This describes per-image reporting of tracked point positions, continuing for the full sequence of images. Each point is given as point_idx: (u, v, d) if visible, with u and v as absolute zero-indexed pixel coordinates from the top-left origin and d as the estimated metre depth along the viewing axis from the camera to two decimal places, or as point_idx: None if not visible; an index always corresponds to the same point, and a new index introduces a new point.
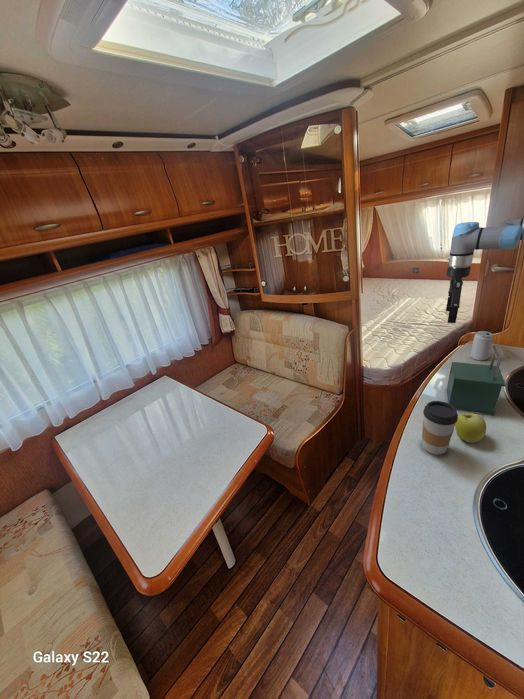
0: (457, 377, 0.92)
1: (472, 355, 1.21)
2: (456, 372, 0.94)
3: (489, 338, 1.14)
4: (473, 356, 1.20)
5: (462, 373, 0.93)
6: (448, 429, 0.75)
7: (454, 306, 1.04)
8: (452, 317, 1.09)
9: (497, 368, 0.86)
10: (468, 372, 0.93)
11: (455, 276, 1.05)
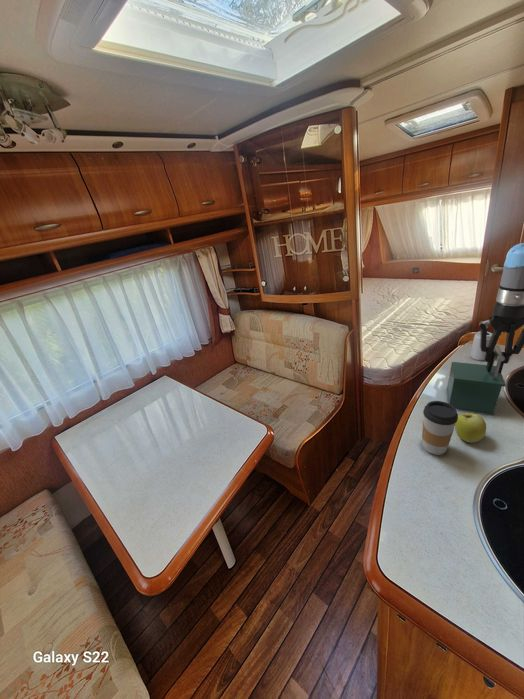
0: (457, 377, 0.92)
1: (472, 355, 1.21)
2: (456, 372, 0.94)
3: (489, 338, 1.14)
4: (473, 356, 1.20)
5: (462, 373, 0.93)
6: (448, 429, 0.75)
7: None
8: None
9: (497, 368, 0.86)
10: (468, 372, 0.93)
11: None
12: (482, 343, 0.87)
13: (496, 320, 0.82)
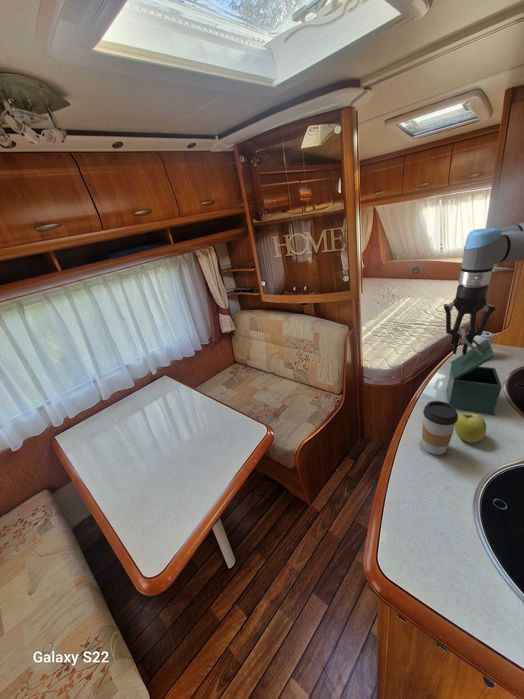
0: (455, 375, 0.92)
1: None
2: (454, 370, 0.94)
3: (489, 338, 1.14)
4: None
5: (459, 368, 0.93)
6: (448, 429, 0.75)
7: None
8: (466, 346, 0.90)
9: (472, 348, 0.86)
10: (464, 363, 0.93)
11: None
12: (447, 325, 0.89)
13: (459, 302, 0.85)
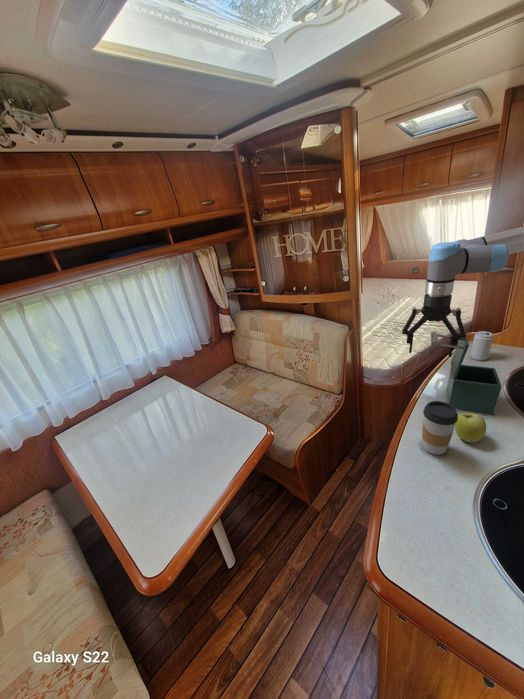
0: (453, 374, 0.92)
1: (472, 355, 1.21)
2: (452, 370, 0.94)
3: (489, 338, 1.14)
4: (473, 356, 1.20)
5: (454, 367, 0.93)
6: (448, 429, 0.75)
7: None
8: None
9: (447, 346, 0.90)
10: (455, 360, 0.93)
11: None
12: (406, 326, 0.96)
13: (426, 310, 0.90)
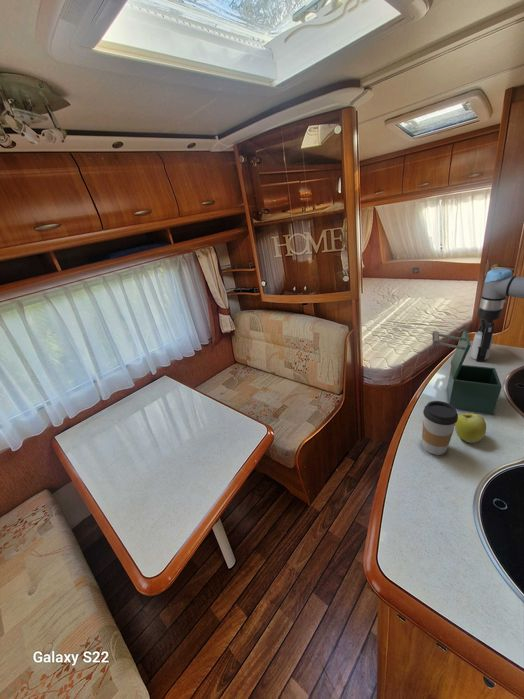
0: (453, 374, 0.92)
1: (472, 355, 1.21)
2: (452, 370, 0.94)
3: None
4: (473, 356, 1.20)
5: (454, 367, 0.93)
6: (448, 429, 0.75)
7: None
8: None
9: (448, 345, 0.90)
10: (456, 360, 0.93)
11: None
12: (489, 343, 1.11)
13: None
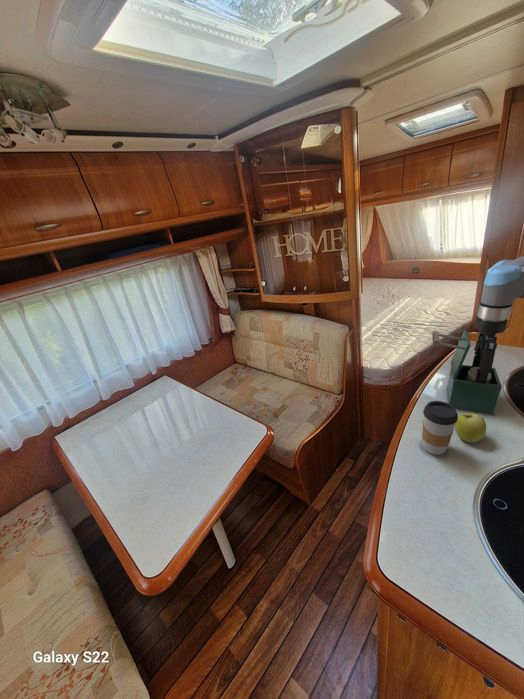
0: (453, 374, 0.92)
1: None
2: (452, 370, 0.94)
3: None
4: None
5: (454, 367, 0.93)
6: (448, 429, 0.75)
7: None
8: None
9: (448, 345, 0.90)
10: (456, 360, 0.93)
11: None
12: (492, 364, 0.83)
13: None
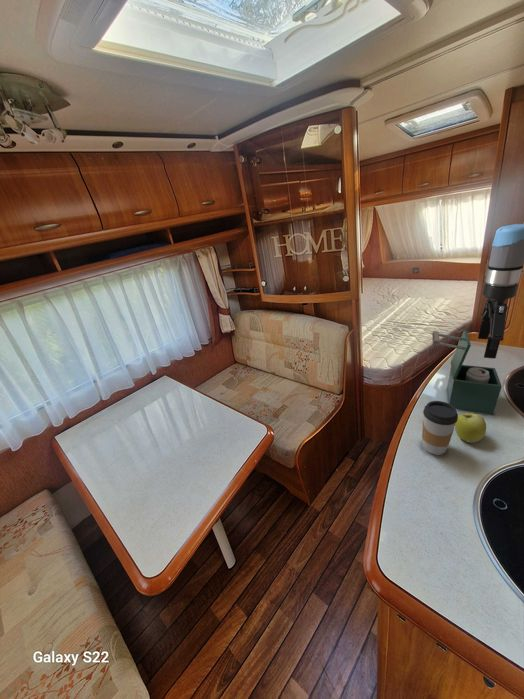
0: (453, 374, 0.92)
1: None
2: (452, 370, 0.94)
3: (485, 378, 0.90)
4: None
5: (454, 367, 0.93)
6: (448, 429, 0.75)
7: None
8: None
9: (448, 345, 0.90)
10: (456, 360, 0.93)
11: None
12: None
13: None
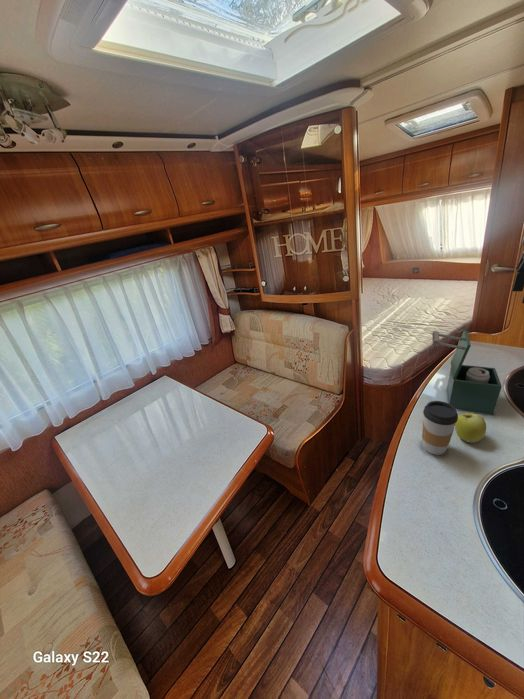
0: (453, 374, 0.92)
1: None
2: (452, 370, 0.94)
3: (485, 378, 0.90)
4: None
5: (454, 367, 0.93)
6: (448, 429, 0.75)
7: None
8: None
9: (448, 345, 0.90)
10: (456, 360, 0.93)
11: None
12: None
13: None
